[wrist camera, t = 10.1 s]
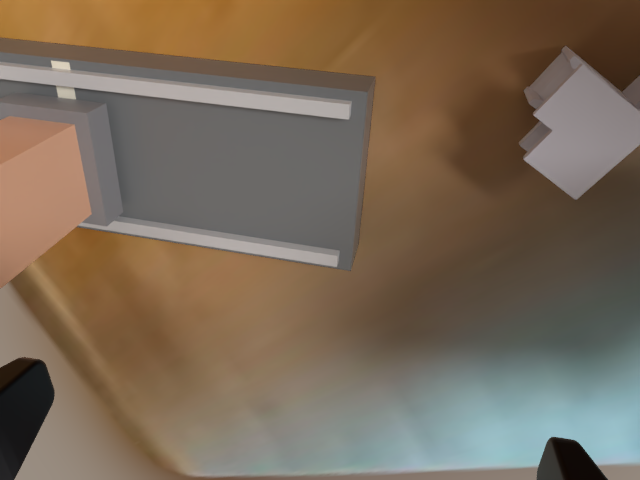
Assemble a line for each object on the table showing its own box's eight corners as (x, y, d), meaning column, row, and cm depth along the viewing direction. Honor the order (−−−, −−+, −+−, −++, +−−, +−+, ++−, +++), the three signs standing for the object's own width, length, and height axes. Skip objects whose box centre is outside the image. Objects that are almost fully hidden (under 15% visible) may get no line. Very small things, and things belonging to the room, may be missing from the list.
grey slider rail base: (375, 76, 19) (366, 95, 17) (358, 244, 23) (348, 276, 21) (-109, 26, 22) (-166, 37, 20) (-56, 181, 26) (-99, 203, 24)
